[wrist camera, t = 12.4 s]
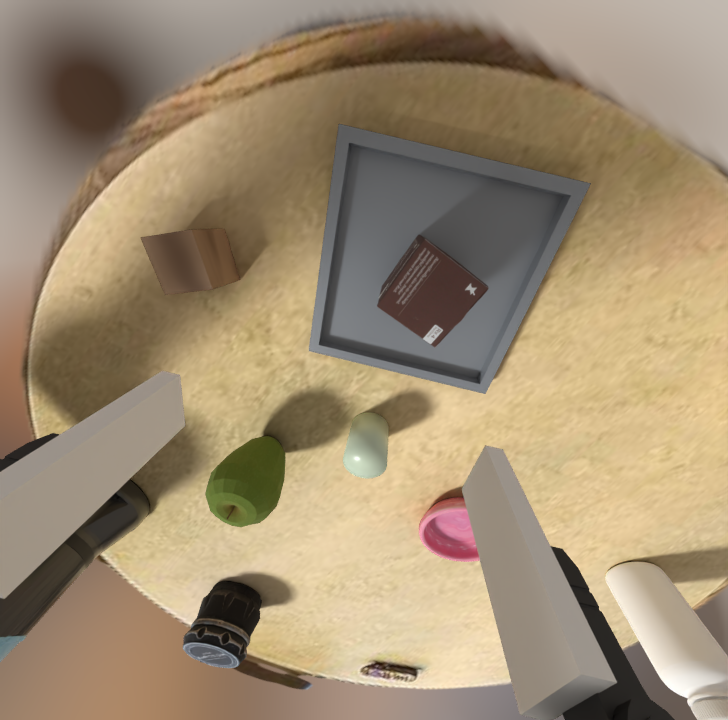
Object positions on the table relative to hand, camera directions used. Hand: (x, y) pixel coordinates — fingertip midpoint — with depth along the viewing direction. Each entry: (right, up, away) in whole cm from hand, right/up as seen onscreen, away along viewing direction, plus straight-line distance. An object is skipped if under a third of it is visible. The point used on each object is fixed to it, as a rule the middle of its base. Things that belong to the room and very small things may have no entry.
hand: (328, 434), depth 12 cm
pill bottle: (+44, -30, +32) cm, 62 cm away
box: (+7, +11, +15) cm, 20 cm away
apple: (-12, -9, +28) cm, 32 cm away
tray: (+7, +11, +16) cm, 21 cm away
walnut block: (-15, +14, +17) cm, 27 cm away
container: (-27, -49, +50) cm, 75 cm away
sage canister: (+2, -6, +25) cm, 25 cm away
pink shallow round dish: (+16, -21, +31) cm, 41 cm away
